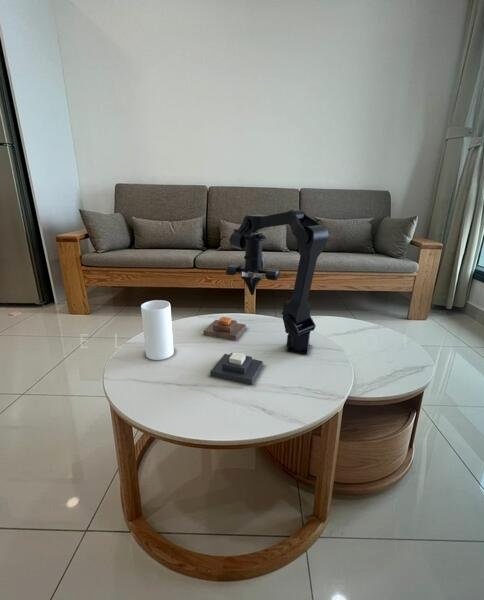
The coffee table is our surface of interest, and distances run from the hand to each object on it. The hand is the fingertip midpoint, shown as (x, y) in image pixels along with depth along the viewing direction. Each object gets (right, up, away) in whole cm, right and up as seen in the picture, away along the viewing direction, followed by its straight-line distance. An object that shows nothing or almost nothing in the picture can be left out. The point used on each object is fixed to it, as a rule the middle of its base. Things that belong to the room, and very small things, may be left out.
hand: (252, 294), depth 117 cm
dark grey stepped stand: (-4, -22, -25) cm, 34 cm away
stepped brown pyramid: (-10, -13, -2) cm, 17 cm away
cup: (-28, -19, -17) cm, 38 cm away
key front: (-4, -19, -26) cm, 33 cm away
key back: (-10, -10, -3) cm, 14 cm away
